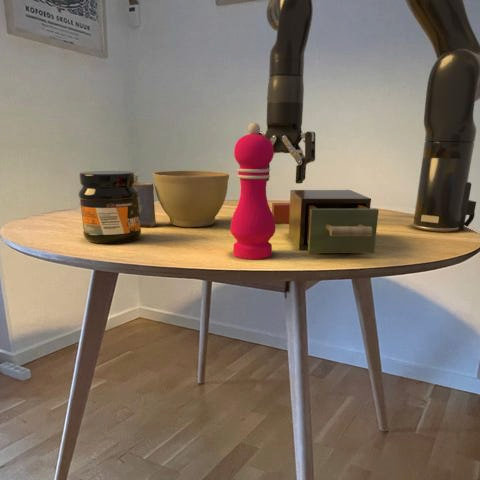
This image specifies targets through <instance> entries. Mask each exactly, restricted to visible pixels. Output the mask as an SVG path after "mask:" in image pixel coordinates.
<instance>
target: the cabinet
mask: <svg viewBox="0 0 480 480" xmlns="http://www.w3.org/2000/svg"><path fill="white" fill-rule="evenodd" d="M289 193H290V194H289V203H290V215H289V223H288V236H289V237H290V238H291V240H292V242H293V244H295V246H296V247H297V249H298V250H299V251H308V243H307V242H306V241H305V240H304V234H305V215H306V204H348V203H359V204H361V205H363V206H365V207H367V208H369V209H371V204H372V198H371V197H369V196H366V195H363V194H361V193H360V192H359V193H358V192H356V191H354V190H351V189H290V192H289Z"/></svg>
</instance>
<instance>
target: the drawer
mask: <svg viewBox="0 0 480 480" xmlns="http://www.w3.org/2000/svg"><path fill="white" fill-rule="evenodd" d="M379 210H380V209H378V208H370V209H369V208H367V207H365V206H363V205H361V204H359V203H348V204H306V215H305V234H304V240H305V241H306V242H307V243H308V250H307V252H308V254H374V253H375V247H376V239H377V238H376V237H377V230H378V222H379V221H378V219H379Z"/></svg>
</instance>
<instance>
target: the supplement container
mask: <svg viewBox="0 0 480 480" xmlns="http://www.w3.org/2000/svg"><path fill="white" fill-rule="evenodd" d="M134 175H135V172H133V171H128V170H89V171H82V172H79V183H80V185H81V186H82V187H81V188H80V190H79V191H78V198H79V202H80V203H79V204H80V210H81V211H80V212H81V219H82V228H83V229H82V230H83V236H84V239H85V240H87V241H89V242H91V243H93V244H101V245H103V244H104V245H112V244H114V245H115V244H124V243H130V242H133V241H137V239H139V238H140V237H141V235H142V228H141V226H140V216H139V202H138V196H139V193H138V190H137V189H136V188H135V187H134V183H135V176H134Z"/></svg>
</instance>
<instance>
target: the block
mask: <svg viewBox="0 0 480 480" xmlns="http://www.w3.org/2000/svg"><path fill="white" fill-rule="evenodd" d="M271 212H272V215H273V217H274V221H275V224H289V215H290V202H272V203H271Z"/></svg>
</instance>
